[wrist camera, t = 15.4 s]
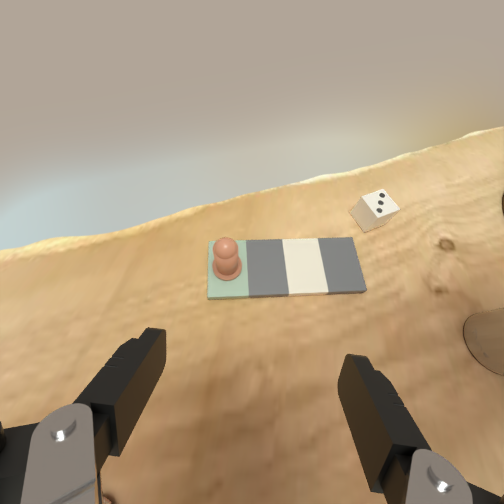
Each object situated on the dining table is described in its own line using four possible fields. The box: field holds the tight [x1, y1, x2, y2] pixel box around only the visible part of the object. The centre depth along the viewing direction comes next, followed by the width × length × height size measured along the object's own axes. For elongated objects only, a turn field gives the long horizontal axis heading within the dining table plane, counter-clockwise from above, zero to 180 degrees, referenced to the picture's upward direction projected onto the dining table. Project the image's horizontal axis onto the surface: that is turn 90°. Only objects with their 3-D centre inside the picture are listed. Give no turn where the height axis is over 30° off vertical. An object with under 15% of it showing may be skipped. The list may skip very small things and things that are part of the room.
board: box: [208, 237, 367, 300], centre depth 40 cm, size 26×10×2 cm, turn 93°
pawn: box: [212, 237, 242, 281], centre depth 35 cm, size 5×5×9 cm
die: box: [350, 189, 400, 232], centre depth 44 cm, size 5×5×5 cm
